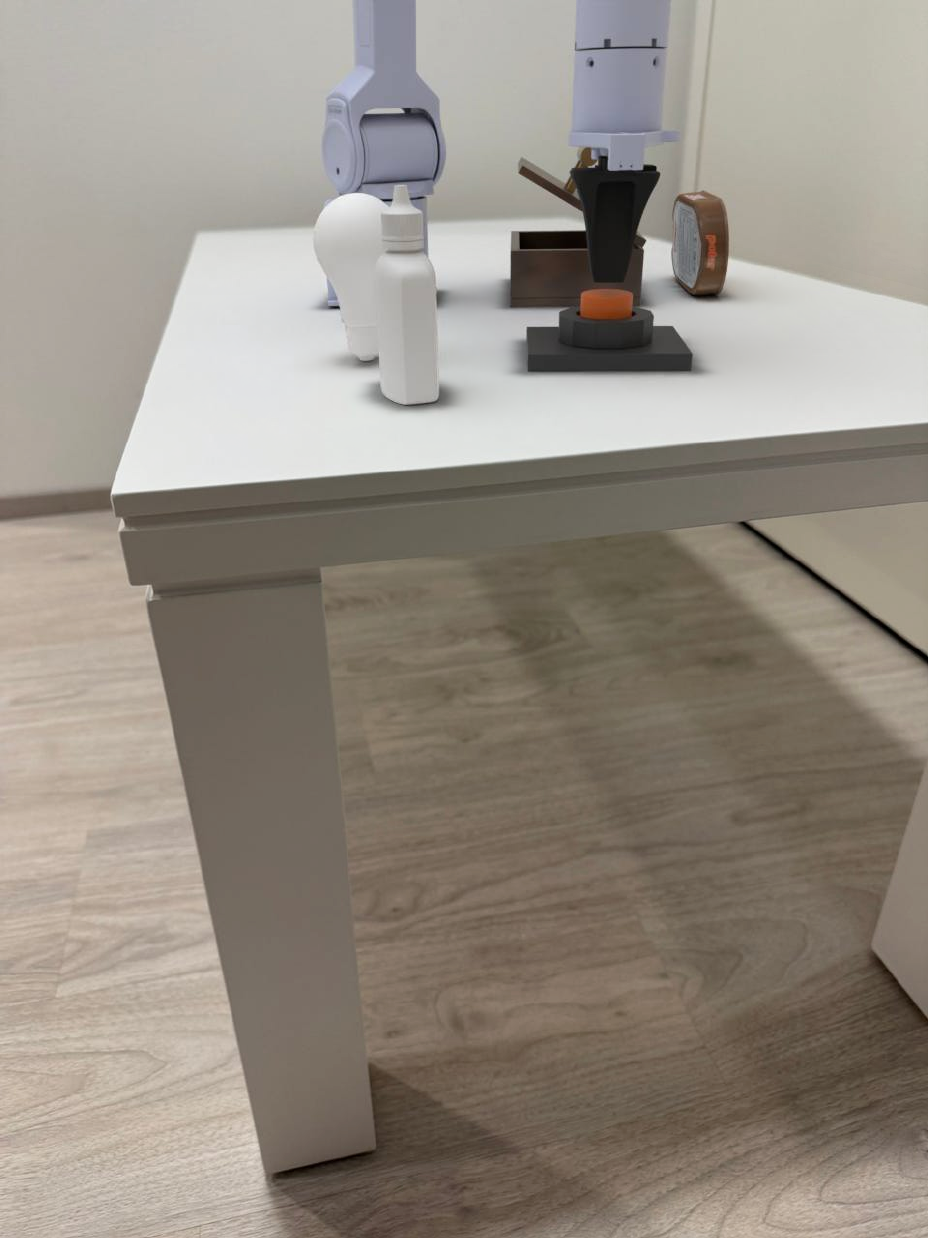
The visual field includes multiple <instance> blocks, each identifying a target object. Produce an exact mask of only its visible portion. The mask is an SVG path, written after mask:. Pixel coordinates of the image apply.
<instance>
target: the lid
mask: <svg viewBox="0 0 928 1238" xmlns="http://www.w3.org/2000/svg"><path fill="white" fill-rule="evenodd" d="M591 149H592V148H590V147H578V149H577V152H576V157H577V162H576V163H575V165H574V167H573V168H589V167H593V166H595V165H596V163H598V159H592V158H591V151H592V150H591ZM517 170H518V172H517V173H518V175H520V176H522V177H524V178H525V179H527V180H528V181H530V182H532V183H534V184H535V185H537V186H539V187H540V188H541V189H544V190H545V191H547V192H549V193H550V194H552V195H554V196H555V197H557V198H559V199H560V200H562V201H564V202H565V203H567V204H568V205H570V206H571V207H573V208H575V209H577V210H578V211H580V212H582V213H583V211H582V207H581V203H580V199H579V196H578V192H577V190H576V187H575V184H574V182H573V179H572V177H571V175H570V174H569V176H568V178H567V180H566V182H564V181H562V180H561V179H559V178H557V177H556V176H554V175H552V174H550V173H549V172H547V171H546V170H544V169H542V168H540V167H539V166H537V165H536V164H534V163H533V162H531V161H529V160H528V159H526V158H524V157H523V156H521V157H520V158H519V161H518V163H517ZM647 241H648V240H647V239H646V238H645V237H644V236H643V235H642V233H640V232H639V231H638V230H637V233H636V237H635V242H634V243H635V244H636V245H638V246H640V247H641V248H643V249H644V246H645V245H646V243H647Z"/></svg>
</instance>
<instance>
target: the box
mask: <svg viewBox="0 0 928 1238" xmlns="http://www.w3.org/2000/svg"><path fill="white" fill-rule="evenodd" d="M644 256H645V249H644V247H643V248H641V247H640V246H638V245H636V244H635V243H634V246H633V250H632V255H631V259H630V263H629V267H628V270H627V273H626V276H625V279H624V282H617V283H594V281H593V279H592V275H591V270H590V264H589V257H588V248H587V238H586V229H581V230H580V229H579V230H577V229H576V230H575V229H574V230H572V229H571V230H570V229H569V230H567V229H566V230H512V231H511V232H510V266H509V267H510V273H509V274H510V276H509V277H510V280H509V281H510V282H509V283H510V284H509V286H510V287H509V289H510V290H509V291H510V292H509V296H510V297H509V306H510V308H570V307H577V306H581V293H582V292H585V291H588V290H596V289H616V290H624V291H629V292H631V293H633V303H632V306H634V307H640V306H641V297H642V287H643V286H642V284H643V272H644V271H643V270H644Z"/></svg>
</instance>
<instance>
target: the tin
mask: <svg viewBox="0 0 928 1238" xmlns="http://www.w3.org/2000/svg"><path fill="white" fill-rule="evenodd" d="M672 207H673V208H672V213H671V214H672V216H671V219H672V245H671V253H670V254H671V255H670V257H671V265H672V271H673V275H674V279H675V281H677V282H678V284H680V285H681V286H682V287H683V288H684V289H685V290H686V291H687V292H688V293H689V294H691V295H692V296H704V295H716V296H718V295H720V294H721V292H722V291H723V289H724V286H725V283H726V278H727V273H728V266H729V252H730V236H729V233H730V231H729V230H730V229H729V219H728V213H727V207H726V205H725V202H724V200H723V198H721V197H719V196H717V195H715V194H712V193H710V192H708V191H707V190H703V189H702V190H701V191H696V192H686V193H685V192H683V193H680V194H678V195H677V196H676V198H675V199H674V202H673V206H672Z"/></svg>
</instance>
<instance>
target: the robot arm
mask: <svg viewBox="0 0 928 1238" xmlns="http://www.w3.org/2000/svg"><path fill="white" fill-rule="evenodd" d="M671 7H672V0H576V1H575V26H574V27H575V29H574V53H573V54H574V55H573V56H574V59H573V85H572V111H571V112H572V114H571V115H572V116H571V131H569V132H568V135H567V136H568V137H567V141H568V142H567V144H568V146H570V147H577V148H580V147H590V148H592V149H591V150H592V151H591V158H592V159H598V160H597V164H594V167H588V168H574V167H572V168H571V169H570V170H569V176H570V175H571V177H572V179H573V182H574V184H575V187H576V190H577V192H578V196H579V199H580V203H581V207H582V211H583V212H582V211H581V212H582V215H583V221H584V228H585V229H584V230H586V238H587V248H588V257H589V264H590V270H591V275H592V279H593V281H594V283H617V282H624V279H625V276H626V273H627V270H628V267H629V263H630V259H631V255H632V250H633V246H634V242H635V237H636V233H637V231H638V229H639V226H640V222H641V220H642V217H643V213H644V211H645V209H646V206H647V205H648V202H649V199H650V198H651V195H652V194H653V192H654V190H655V188H656V186H657V185H658V183H659V180H660V178H661V172H660V171H658V170H657V168H658V167H657V165H655V164H649V163H648V164H646V163H645V164H644V158H645V148H650V147H657V146H660V145H663V144H664V143H679V142H680V138H681V131H680V129H662V124H663V123H662V122H663V109H664V98H665V97H664V95H665V86H666V85H665V84H666V83H665V82H666V70H667V58H668V46H669V34H670V20H671ZM352 24H353V25H352V29H353V31H352V33H353V57H354V58H353V59H354V68H353V70H351V72H350V73H349V74H347V76H345V77H344V78H343V79H342V81H341V82H339V83H338V84H337V85H336V86H335V87H334V88H333V89H332V90H331V91H330V92H329V93H328V95H326V97H325V120H324V121H325V122H324V130H323V132H322V138H321V158H322V159H321V160H322V164H323V168H324V171H325V174H326V176H327V178H328V180H329V182H330V183H331V184H332V186H333V187H334V189H335V190H336V191H337V192H338V197H340V196H343V195H346V194H350V193H364V194H368V195H371V196H374V197H376V198H378V199H380V200H381V201H382V202H384V203H385V204H386V205H388V206H389V207H390V206H391V204H392V201H393V194H394V186H395V185H407V189H408V194H409V198H410V202H411V204H412V205H413V206H414V207H415V208H417V209H418V210H420V211H422V212H423V233H424V248H421V249H419V250H422V251H423V252H424V253H425V255H426V256H427V257H428V258H429V229H428V199H427V198H428V197H427V196H434V193H435V192H434V187H435V186H436V185H437V184H438V183H439V181H440V179H441V177H442V175H443V173H444V170H445V166H446V160H447V144H446V139H445V135H444V132H443V127H442V122H441V114H440V113H441V111H440V110H441V109H440V107H441V106H440V103H441V102H440V101H441V100H440V98H439V96H438V95H437V94H436V92H434V90H433V89H432V88H431V87H430V86H429V85H428V84H427V83H426V82H425V81H424V79H423V78H422V77H421V76H420V75H419V73H418V72H417V0H352ZM374 109H375V110H376V109H401V110H402V112H389V113H388V112H386V113H385V112H383V113H382V112H381V113H380V112H379V113H367V112H368V111H371V110H374ZM335 199H336V198H328V199H326V200H325V201H324V204H323V209H324V208H325V207H326V206H327V205H328V204H329V203H330V202H331V201H333V200H335ZM323 209H322V210H323ZM429 259H430V258H429ZM326 284H327V286H326V287H327V298H328V299H327V301H326V303H327V306H328V307H340V306H339V302H338V298H337V296H336V293H335V291H334V289H333V286H332V284H331V283H330V281H329V280H328V278H327V277H326ZM437 291H438V287H437V286H436V292H437Z"/></svg>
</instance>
